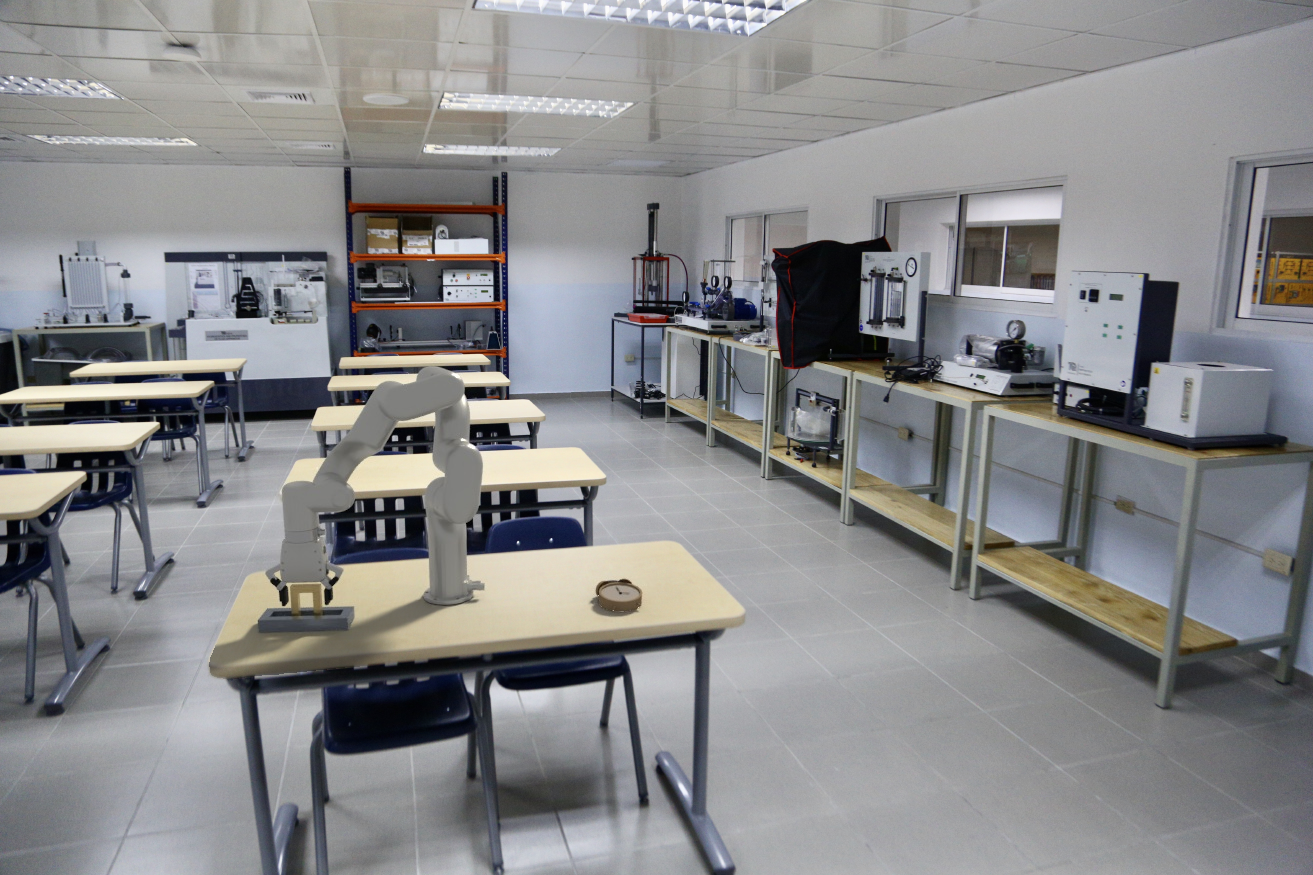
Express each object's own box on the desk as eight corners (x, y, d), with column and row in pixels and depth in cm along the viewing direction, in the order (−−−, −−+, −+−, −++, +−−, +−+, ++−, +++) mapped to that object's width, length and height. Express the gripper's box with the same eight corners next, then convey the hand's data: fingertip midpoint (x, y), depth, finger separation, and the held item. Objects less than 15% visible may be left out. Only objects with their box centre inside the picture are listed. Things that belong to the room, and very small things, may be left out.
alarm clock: (606, 604, 211) (589, 574, 224) (605, 621, 213) (588, 590, 226) (649, 599, 215) (629, 569, 228) (647, 616, 217) (628, 585, 230)
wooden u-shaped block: (323, 619, 202) (321, 583, 200) (321, 622, 201) (319, 586, 199) (294, 620, 201) (291, 584, 199) (292, 623, 200) (289, 586, 198)
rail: (354, 617, 206) (353, 606, 205) (347, 629, 199) (347, 618, 198) (268, 619, 203) (267, 608, 203) (258, 632, 196) (257, 620, 196)
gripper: (344, 528, 201) (348, 596, 205) (268, 529, 199) (273, 598, 203) (337, 538, 194) (341, 608, 197) (257, 540, 192) (263, 611, 195)
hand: (306, 603), depth 200 cm, fingers open, 9 cm apart
